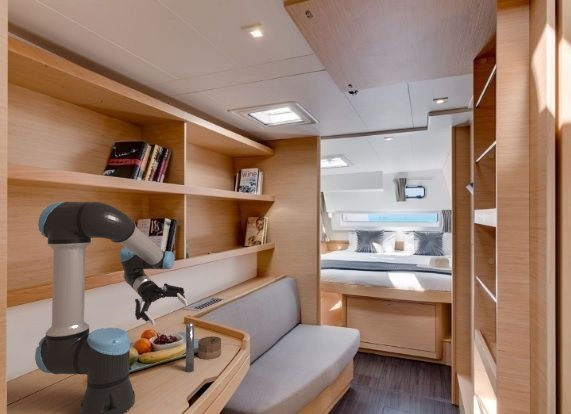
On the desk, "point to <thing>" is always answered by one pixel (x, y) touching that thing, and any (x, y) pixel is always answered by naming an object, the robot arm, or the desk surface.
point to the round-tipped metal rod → (190, 347)
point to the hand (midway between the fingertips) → (170, 312)
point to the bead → (209, 347)
